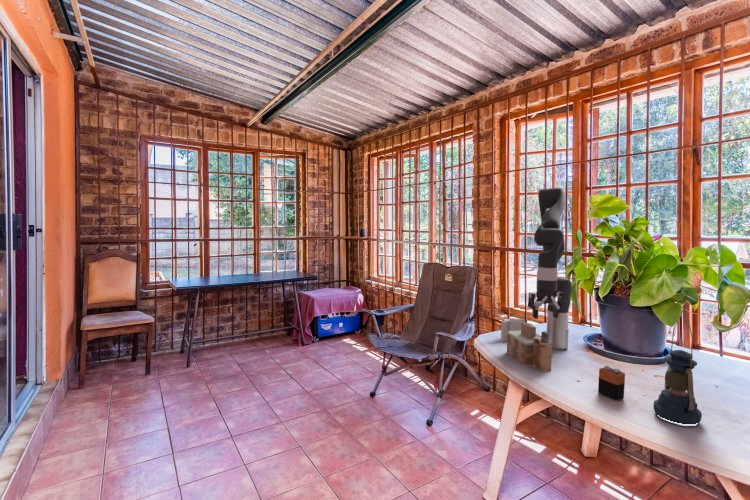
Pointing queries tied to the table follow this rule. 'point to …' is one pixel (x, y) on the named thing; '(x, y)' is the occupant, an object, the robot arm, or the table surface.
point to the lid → (525, 334)
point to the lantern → (678, 388)
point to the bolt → (543, 338)
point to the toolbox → (530, 353)
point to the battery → (611, 383)
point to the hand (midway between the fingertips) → (545, 318)
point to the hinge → (510, 327)
